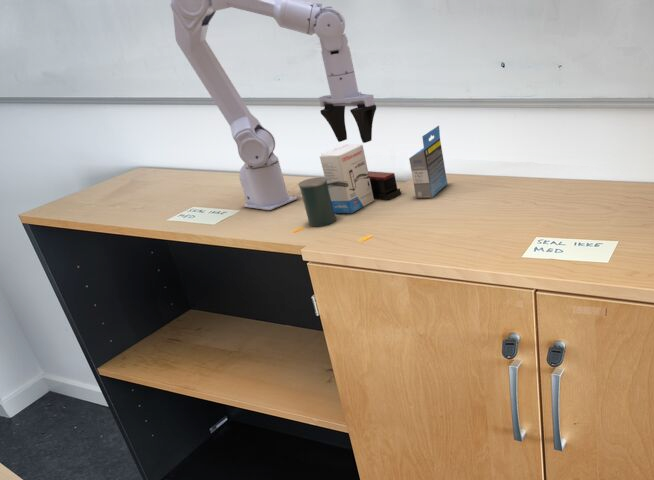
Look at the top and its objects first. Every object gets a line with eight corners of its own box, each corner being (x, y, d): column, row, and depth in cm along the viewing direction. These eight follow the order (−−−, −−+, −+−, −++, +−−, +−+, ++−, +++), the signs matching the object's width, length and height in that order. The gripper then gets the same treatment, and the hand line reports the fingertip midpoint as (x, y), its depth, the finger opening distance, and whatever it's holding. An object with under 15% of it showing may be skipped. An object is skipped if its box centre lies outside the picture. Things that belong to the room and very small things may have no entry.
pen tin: (303, 225, 134) (292, 184, 130) (323, 216, 138) (313, 176, 133) (321, 228, 131) (311, 186, 127) (341, 218, 134) (332, 178, 130)
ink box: (351, 214, 136) (338, 155, 130) (332, 213, 138) (318, 155, 132) (375, 200, 142) (363, 143, 136) (356, 199, 144) (343, 143, 139)
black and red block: (348, 196, 148) (343, 175, 146) (361, 190, 150) (356, 169, 148) (388, 200, 141) (384, 178, 139) (401, 194, 143) (397, 172, 141)
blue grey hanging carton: (431, 185, 146) (422, 126, 140) (448, 184, 145) (439, 125, 139) (415, 198, 139) (404, 137, 133) (432, 198, 138) (422, 136, 132)
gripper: (379, 68, 137) (391, 137, 144) (330, 70, 146) (344, 135, 153) (354, 75, 133) (368, 146, 140) (306, 77, 141) (321, 143, 148)
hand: (354, 141), depth 146 cm, fingers open, 7 cm apart
